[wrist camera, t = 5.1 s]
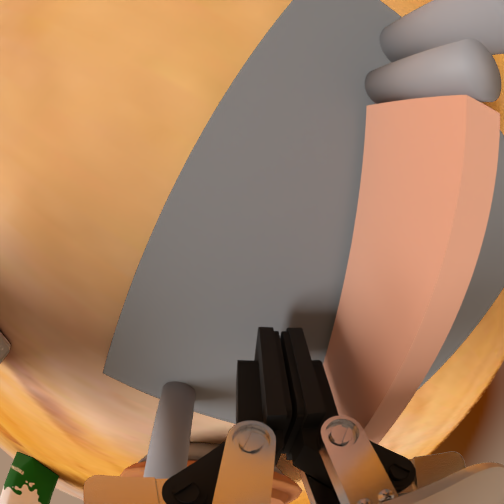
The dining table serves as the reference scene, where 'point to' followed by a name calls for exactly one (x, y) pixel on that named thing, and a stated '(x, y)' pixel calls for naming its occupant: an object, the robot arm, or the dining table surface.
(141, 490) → the robot arm
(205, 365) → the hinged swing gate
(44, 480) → the milk carton
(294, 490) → the pie
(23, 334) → the dining table surface
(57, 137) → the dining table surface
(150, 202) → the dining table surface
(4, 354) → the skincare box
